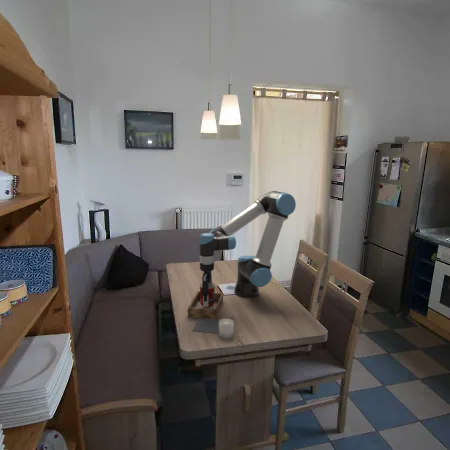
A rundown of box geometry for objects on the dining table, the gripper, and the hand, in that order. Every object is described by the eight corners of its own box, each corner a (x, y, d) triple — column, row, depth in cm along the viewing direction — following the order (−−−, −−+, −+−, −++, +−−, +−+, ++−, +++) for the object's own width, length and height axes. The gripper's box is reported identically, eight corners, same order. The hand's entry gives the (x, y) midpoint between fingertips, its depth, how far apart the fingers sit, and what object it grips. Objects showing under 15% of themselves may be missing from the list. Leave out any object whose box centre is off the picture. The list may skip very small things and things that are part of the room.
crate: (222, 301, 182) (223, 293, 181) (216, 319, 161) (216, 310, 160) (197, 299, 184) (197, 291, 183) (187, 317, 163) (187, 308, 162)
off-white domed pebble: (234, 331, 150) (234, 319, 149) (232, 338, 144) (233, 326, 142) (219, 329, 151) (220, 318, 150) (217, 337, 144) (217, 325, 143)
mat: (221, 320, 160) (221, 320, 160) (217, 333, 148) (217, 332, 148) (198, 318, 161) (198, 318, 161) (192, 331, 149) (192, 330, 149)
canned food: (209, 308, 167) (209, 288, 165) (197, 304, 171) (196, 285, 169) (217, 303, 173) (217, 284, 171) (205, 299, 178) (205, 281, 175)
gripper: (203, 256, 178) (204, 294, 183) (195, 268, 158) (196, 311, 163) (217, 257, 177) (217, 295, 182) (210, 269, 157) (210, 312, 162)
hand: (207, 302), depth 172 cm, fingers closed on canned food, 8 cm apart
